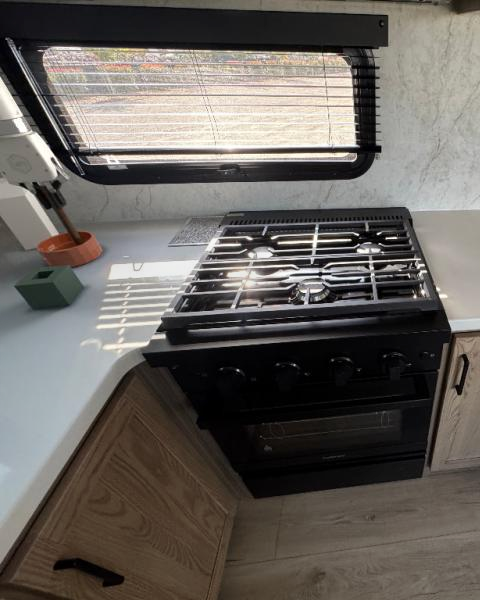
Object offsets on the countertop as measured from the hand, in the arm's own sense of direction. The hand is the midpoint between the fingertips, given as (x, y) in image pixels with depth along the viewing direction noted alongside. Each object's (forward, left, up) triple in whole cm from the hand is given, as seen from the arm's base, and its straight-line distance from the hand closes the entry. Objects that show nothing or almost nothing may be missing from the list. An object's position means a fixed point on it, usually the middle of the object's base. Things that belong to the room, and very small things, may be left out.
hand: (56, 206), depth 87 cm
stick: (0, 0, -12) cm, 12 cm away
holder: (+2, -20, -15) cm, 25 cm away
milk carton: (-16, +12, -15) cm, 25 cm away
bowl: (-3, 0, -15) cm, 15 cm away
